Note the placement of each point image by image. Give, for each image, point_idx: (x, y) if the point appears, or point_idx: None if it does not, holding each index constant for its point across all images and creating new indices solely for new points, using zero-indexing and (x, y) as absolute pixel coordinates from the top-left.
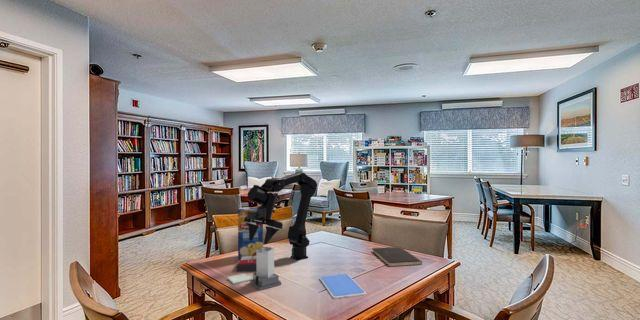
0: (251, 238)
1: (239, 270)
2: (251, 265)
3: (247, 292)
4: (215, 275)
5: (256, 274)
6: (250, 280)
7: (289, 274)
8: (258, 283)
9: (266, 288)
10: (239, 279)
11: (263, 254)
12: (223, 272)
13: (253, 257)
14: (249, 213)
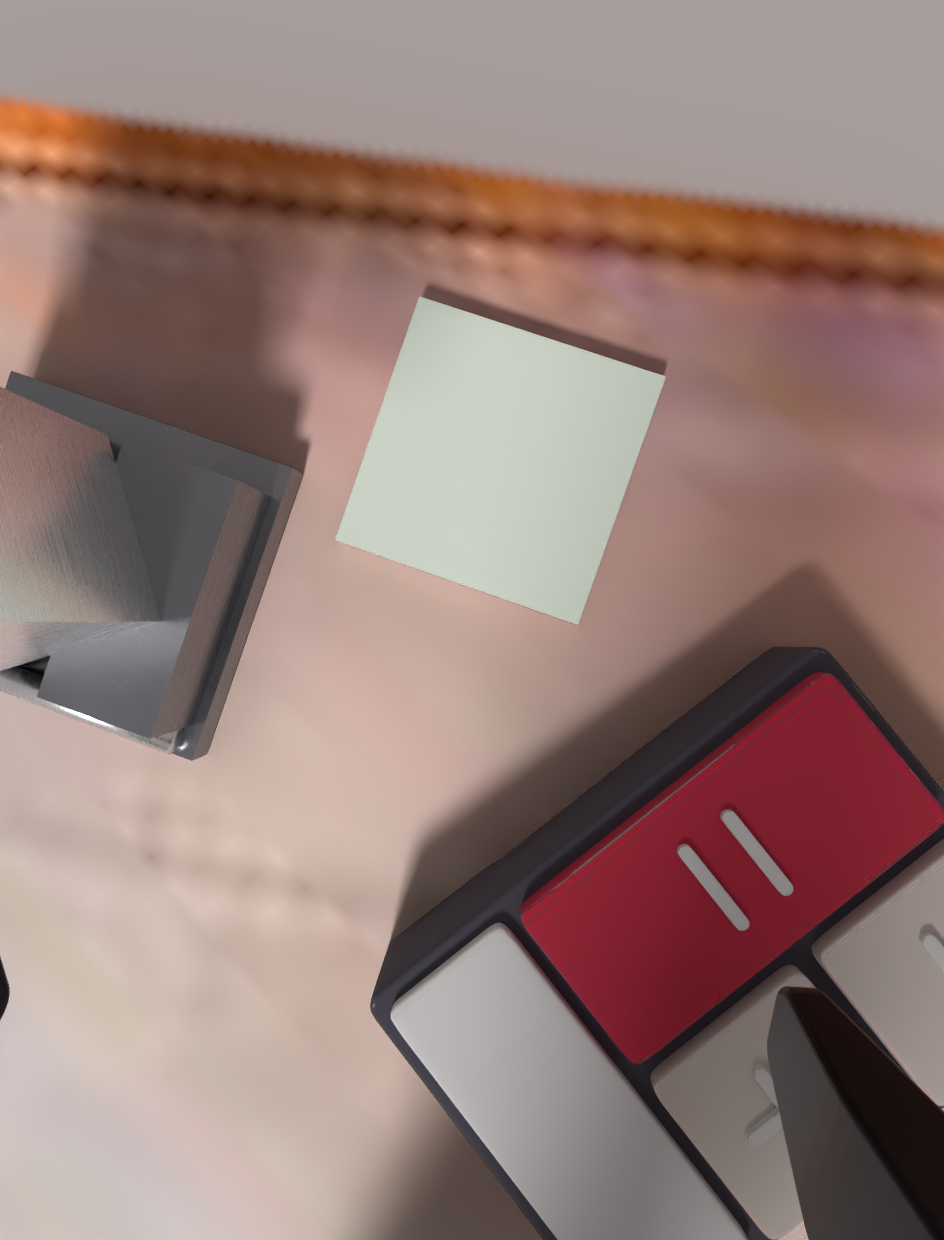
0: (798, 1095)
1: (751, 665)
2: (620, 794)
3: (107, 259)
4: (908, 358)
5: (158, 481)
6: (281, 464)
7: (83, 978)
8: None
9: None
10: (454, 421)
11: None
12: (913, 501)
13: None
14: None
